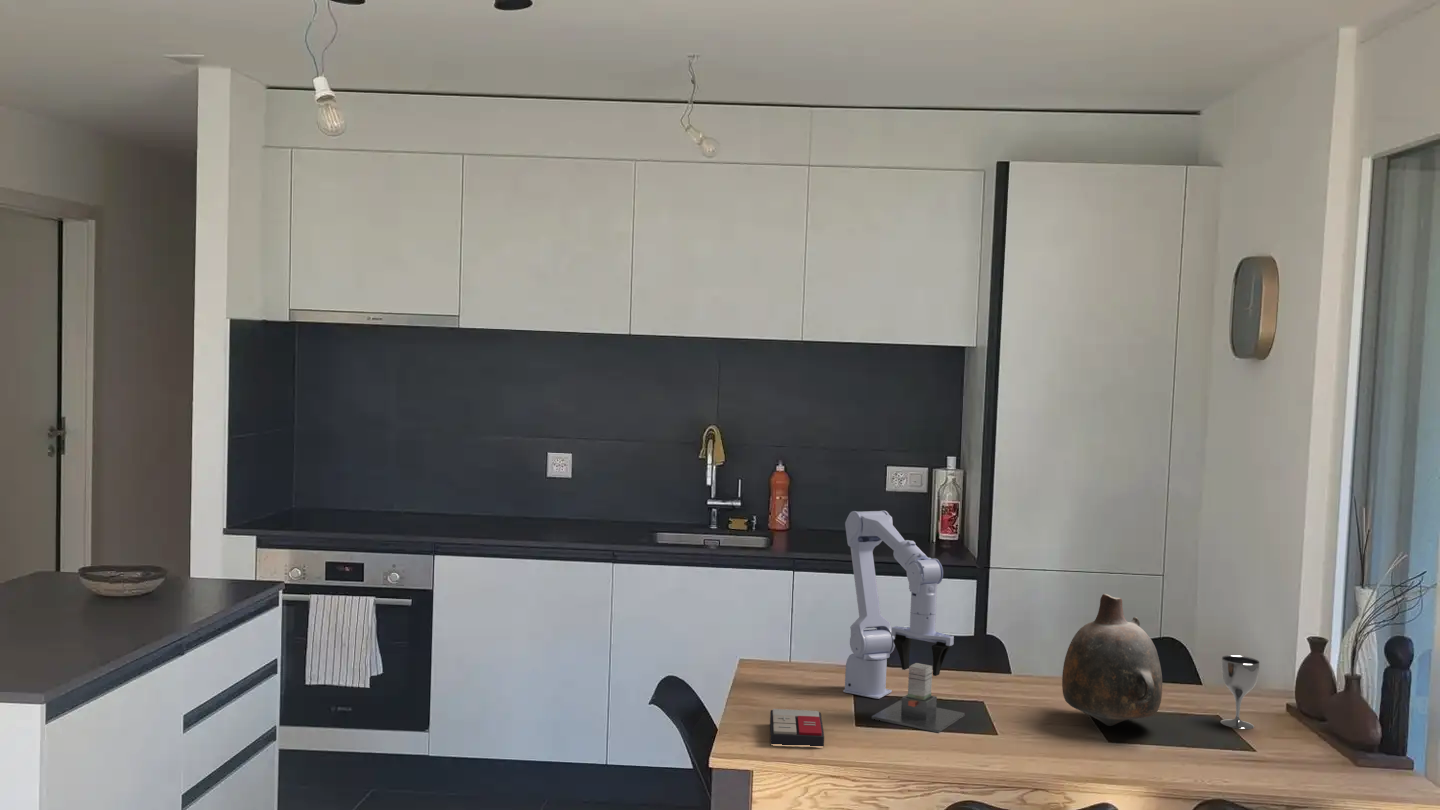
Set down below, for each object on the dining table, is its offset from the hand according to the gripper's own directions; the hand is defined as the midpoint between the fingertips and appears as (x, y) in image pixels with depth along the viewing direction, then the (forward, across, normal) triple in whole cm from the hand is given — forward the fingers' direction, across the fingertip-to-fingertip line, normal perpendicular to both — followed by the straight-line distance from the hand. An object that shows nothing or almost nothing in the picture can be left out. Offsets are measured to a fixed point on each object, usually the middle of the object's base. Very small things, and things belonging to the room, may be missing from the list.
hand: (920, 671), depth 273 cm
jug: (+11, -36, -24) cm, 44 cm away
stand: (+10, 0, 0) cm, 10 cm away
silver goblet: (+11, -59, -45) cm, 75 cm away
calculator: (+11, +14, +30) cm, 35 cm away
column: (+7, 0, 0) cm, 7 cm away
